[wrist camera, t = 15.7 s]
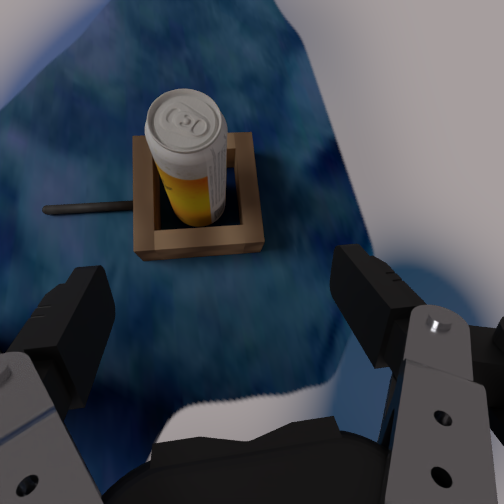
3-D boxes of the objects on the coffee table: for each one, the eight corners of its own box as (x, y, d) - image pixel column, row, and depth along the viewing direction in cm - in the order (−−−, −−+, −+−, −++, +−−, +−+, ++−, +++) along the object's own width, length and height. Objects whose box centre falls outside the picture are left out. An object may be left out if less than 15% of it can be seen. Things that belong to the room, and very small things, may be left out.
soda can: (189, 173, 38) (168, 71, 23) (234, 195, 37) (241, 106, 23) (163, 214, 36) (124, 132, 22) (210, 238, 36) (202, 171, 21)
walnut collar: (41, 269, 33) (17, 259, 29) (48, 160, 36) (28, 139, 33) (260, 252, 36) (264, 241, 32) (248, 152, 39) (251, 132, 35)
